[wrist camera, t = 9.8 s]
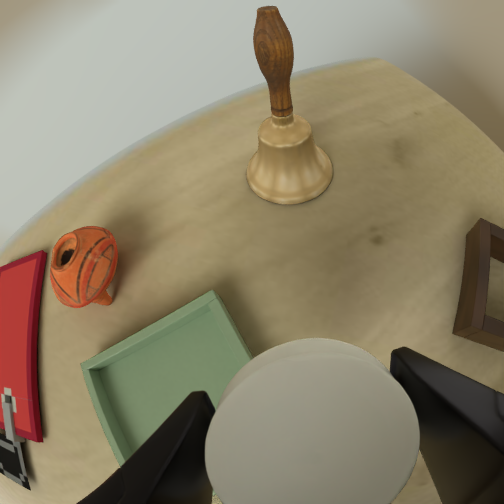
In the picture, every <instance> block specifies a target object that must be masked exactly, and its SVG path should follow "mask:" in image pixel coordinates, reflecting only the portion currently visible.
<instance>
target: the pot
mask: <svg viewBox="0 0 504 504" xmlns="http://www.w3.org/2000/svg"><path fill="white" fill-rule="evenodd" d="M117 260H118V250H117V245H116V241H115V239H114V237H113V235H112V234H111V233H110V232H109V231H108V230H106V229H104V228H100V227H96V226H86V227H82V228H79V229H76V230H74V231H72V232H70V233H67V234H65V235H64V236H62V237H61V238H60V239H59V240H58V242H57V243H56V245H55V246H54V248H53V251H52V261H51V269H50V278H51V284H52V288H53V290H54V293H55V295H56V297H57V298H58V300H59V301H60V302H61V303H62V304H64V305H66V306H70V307H73V308H80V307H83V306H86V305H88V304H89V303H91V302H94V303H98V304H101V305H110V304H111V303H112V298H111V297H110V296H109V294H108V293H107V292H106V289H107V288H108V286H109V285H110V283H111V281H112V279H113V277H114V274H115V271H116V266H117Z"/></svg>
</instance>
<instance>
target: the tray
mask: <svg viewBox="0 0 504 504" xmlns="http://www.w3.org/2000/svg"><path fill="white" fill-rule="evenodd" d="M252 359H253V356H252V354H251V353H250V351H249V349H248V347H247V346H246V344H245V342H244V340H243V338H242V337H241V335H240V333H239V331H238V329H237V327H236V326H235V324H234V322H233V320H232V318H231V316H230V315H229V313H228V311H227V309H226V307H225V305H224V303H223V301H222V300H221V298H220V296H218V295H217V294H216V292H215V291H214V290H211V291H209V292H207V293H205V294H204V295H202V296H200V297H198V298H197V299H195V300H193V301H191V302H190V303H188V304H186V305H184V306H183V307H181V308H179V309H177V310H176V311H174V312H172V313H170V314H169V315H167V316H165V317H163V318H162V319H160V320H158V321H156V322H154V323H153V324H151V325H149V326H147V327H146V328H144V329H142V330H140V331H138V332H137V333H135V334H133V335H131V336H130V337H128V338H126V339H124V340H122V341H121V342H119V343H117V344H115V345H113V346H112V347H110V348H108V349H106V350H104V351H103V352H101V353H99V354H97V355H95V356H94V357H92V358H90V359H88V360H86V361H85V362H83V363H81V368H82V371H83V375H84V378H85V382H86V385H87V388H88V391H89V394H90V397H91V400H92V402H93V405H94V408H95V410H96V413H97V416H98V418H99V421H100V423H101V426H102V428H103V430H104V433H105V435H106V437H107V440H108V442H109V444H110V446H111V448H112V451H113V453H114V455H115V457H116V459H117V461H118V463H119V465H120V467H121V466H122V465H123V464H124V463H125V462H126V461H127V460H128V459H129V458H130V457H131V455H132V454H133V453H134V452H135V451H136V450H137V449H138V448H139V447H140V446H141V445H142V444H143V443H144V442H145V441H146V440H147V439H148V438H149V437H150V436H151V435H152V434H153V433H154V432H155V431H156V430H157V429H158V427H159V426H160V425H161V424H162V423H163V422H164V421H165V420H166V419H167V418H168V417H169V416H170V415H171V414H172V412H173V411H174V410H175V409H176V408H177V407H178V406H179V405H180V404H181V403H182V402H183V400H184V399H185V398H186V397H187V396H188V395H189V394H190V393H191V392H192V391H200V390H204V391H206V392H207V393H208V395H209V397H210V399H211V401H212V403H213V405H214V407H215V410H216V409H217V406H218V403H219V400H220V398H221V396H222V394H223V392H224V390H225V388H226V387H227V385H228V384H229V382H230V381H231V380H232V378H233V377H234V376H235V375H236V373H237V372H238V371H239V370H240V369H241V368H242V367H243V366H245V365H246V364H247V363H248V362H249V361H251V360H252ZM213 495H216V493H215V491H214V489H213ZM213 495H212V496H213Z"/></svg>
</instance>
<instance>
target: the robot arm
mask: <svg viewBox="0 0 504 504" xmlns="http://www.w3.org/2000/svg"><path fill="white" fill-rule="evenodd" d="M390 373H391V374H392V376H393V377H394V379H395V380H396V381H397V382H399V384H400V385H401V386H402V388H403V389H404V390H405V392H406V393H407V395H408V396H409V398H410V400H411V402H412V404H413V406H414V409H415V412H416V415H417V418H418V424H419V431H420V444H419V449H420V452H421V454H422V456H423V458H424V461H425V463H426V465H427V467H428V470H429V472H430V474H431V477H432V479H433V482H434V484H435V486H436V489H437V491H438V494H439V496H440V499H441V502H442V504H504V394H503V393H500V392H498V391H497V392H496V391H495V390H494V389H492V388H490V387H488V386H485V385H483V384H481V383H479V382H477V381H475V380H473V379H471V378H469V377H467V376H465V375H462V374H460V373H458V372H456V371H454V370H452V369H450V368H448V367H446V366H444V365H442V364H440V363H438V362H436V361H434V360H432V359H430V358H428V357H426V356H424V355H422V354H419V353H417V352H415V351H413V350H411V349H409V348H407V347H400V348H398V349H395V350H393V351H392V353H391V362H390ZM215 412H216V410H215V407H214V405H213V403H212V401H211V399H210V397H209V395H208V393H207V392H206V391H204V390H200V391H192V392H191V393H190V394H189V395H188V396H187V397H186V398H185V399H184V400H183V402H182V403H181V404H180V405H179V406H178V407H177V408H176V409H175V410H174V411H173V412H172V414H171V415H170V416H169V417H168V418H167V419H166V420H165V421H164V422H163V423H162V424H161V425H160V426H159V427H158V429H157V430H156V431H155V432H154V433H153V434H152V435H151V436H150V437H149V438H148V439H147V440H146V441H145V442H144V443H143V444H142V445H141V446H140V447H139V448H138V449H137V450H136V451H135V452H134V453H133V454H132V455H131V457H130V458H129V459H128V460H127V461H126V462H125V463H124V464H123V465H122V466H121V468H118V469H117V470H116V471H115V472H114V473H113V474H112V475H111V476H110V477H109V478H108V479H107V480H106V481H105V482H104V483H103V484H101V485H100V486H99V487H98V488H97V489H95V490H94V491H93V492H92V493H90V494H89V495H88V496H86V497H85V498H84V499H82V500H81V501H80V502H78V503H77V504H212V495H213V487H212V485H211V482H210V480H209V477H208V474H207V469H206V464H205V442H206V436H207V432H208V429H209V426H210V423H211V420H212V418H213V416H214V414H215Z"/></svg>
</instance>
